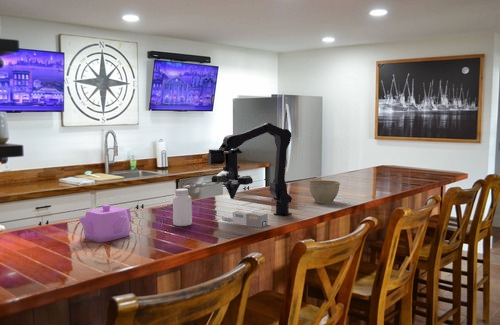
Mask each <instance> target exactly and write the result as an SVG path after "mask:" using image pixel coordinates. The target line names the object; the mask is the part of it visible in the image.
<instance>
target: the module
mask: <svg viewBox="0 0 500 325" xmlns="http://www.w3.org/2000/svg"><path fill="white" fill-rule="evenodd" d="M251 212H252V211H251V210H250V211H249V210H242V209H239V210H236V211H232V217H233V223H237V224H236V225H239V224H244V225H243V226H246V225H247V218H246V214H248V213H251Z"/></svg>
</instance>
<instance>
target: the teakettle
mask: <svg viewBox="0 0 500 325" xmlns="http://www.w3.org/2000/svg"><path fill="white" fill-rule="evenodd" d="M78 220H79V222H80V223H81V225H82V228H83V235H84V237H85V238H84V239H87V240H90V241H94V242H96V243H97V242H98V243H107V242H109V241H110V242H111V241H115V240H118V239H122V238H125V237H129V236H130V233H131V226H130V223H132V215H131V208H129V207H125V208H121V207H117V206H116V207H114V206H112V205H110V204H104V205H101V208H91V209H90V210H87V211H86V212H85V215H84V216H81V217H79V218H78Z"/></svg>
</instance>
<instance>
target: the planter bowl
mask: <svg viewBox="0 0 500 325" xmlns="http://www.w3.org/2000/svg"><path fill="white" fill-rule="evenodd" d="M340 184H341V182H340V181H336V180H324V179H323V180H319V179H318V180H309V181H308V185H309V192H310V194H311V197H312V198H313V199H314V202H315V203H317V204H333V203H334V200H335V199H336V198H337V195H338V193H339V191H340ZM332 202H333V203H332Z"/></svg>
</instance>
